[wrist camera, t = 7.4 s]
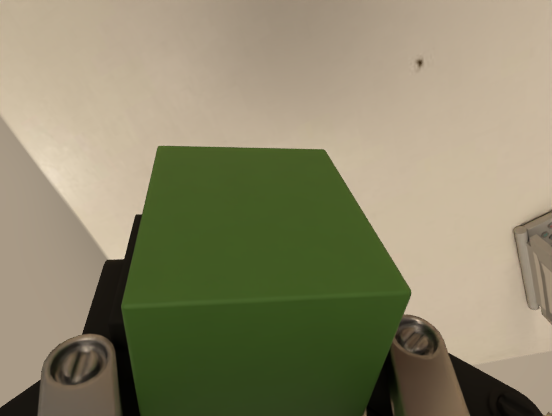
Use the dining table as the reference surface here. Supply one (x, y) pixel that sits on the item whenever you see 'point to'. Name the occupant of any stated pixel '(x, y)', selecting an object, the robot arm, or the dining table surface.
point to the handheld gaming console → (537, 262)
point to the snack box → (257, 288)
